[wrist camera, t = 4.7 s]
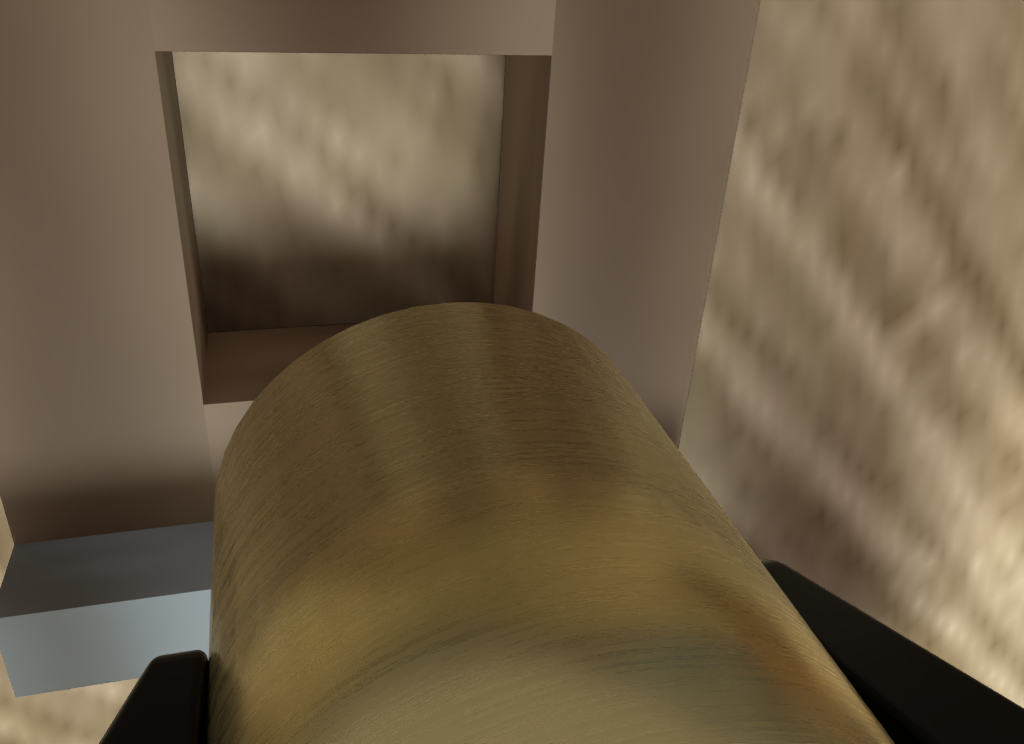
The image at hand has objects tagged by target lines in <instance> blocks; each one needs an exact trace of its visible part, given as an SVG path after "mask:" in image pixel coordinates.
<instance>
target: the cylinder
mask: <svg viewBox="0 0 1024 744" xmlns="http://www.w3.org/2000/svg"><path fill="white" fill-rule="evenodd" d="M206 744H895V743H894V741H893V740H892V739H891V737H890V736H889V735H888V733H887V732H886V731H885V729H884V728H883V727H882V725H881V724H880V722H879V721H878V720H877V718H876V717H875V716H874V714H873V713H872V712H871V710H870V709H869V708H868V706H867V705H866V703H865V702H864V701H863V699H862V698H861V697H860V695H859V694H858V693H857V691H856V690H855V689H854V687H853V686H852V684H851V683H850V682H849V680H848V679H847V678H846V676H845V675H844V674H843V672H842V671H841V670H840V668H839V667H838V665H837V664H836V663H835V661H834V660H833V659H832V657H831V656H830V655H829V653H828V652H827V651H826V649H825V648H824V646H823V645H822V644H821V642H820V641H819V640H818V638H817V637H816V636H815V634H814V633H813V632H812V630H811V629H810V627H809V626H808V625H807V623H806V622H805V621H804V619H803V618H802V617H801V615H800V614H799V613H798V611H797V610H796V608H795V607H794V606H793V604H792V603H791V602H790V600H789V599H788V598H787V596H786V595H785V594H784V592H783V591H782V590H781V588H780V587H779V585H778V584H777V583H776V581H775V580H774V579H773V577H772V576H771V575H770V573H769V572H768V571H767V569H766V568H765V566H764V565H763V564H762V562H761V561H760V560H759V558H758V557H757V556H756V554H755V553H754V552H753V550H752V549H751V547H750V546H749V545H748V543H747V542H746V541H745V539H744V538H743V537H742V535H741V534H740V533H739V531H738V530H737V528H736V527H735V526H734V524H733V523H732V522H731V520H730V519H729V518H728V516H727V515H726V514H725V512H724V511H723V509H722V508H721V507H720V505H719V504H718V503H717V501H716V500H715V499H714V497H713V496H712V495H711V493H710V492H709V490H708V489H707V488H706V486H705V485H704V484H703V482H702V481H701V480H700V478H699V477H698V476H697V474H696V473H695V471H694V470H693V469H692V467H691V466H690V465H689V463H688V462H687V461H686V459H685V458H684V457H683V455H682V454H681V452H680V451H679V450H678V448H677V447H676V446H675V444H674V443H673V442H672V440H671V439H670V438H669V436H668V435H667V433H666V432H665V431H664V429H663V428H662V427H661V425H660V424H659V423H658V421H657V420H656V419H655V417H654V416H653V414H652V413H651V412H650V410H649V409H648V408H647V406H646V405H645V404H644V402H643V401H642V400H641V398H640V397H639V395H638V394H637V393H636V391H635V390H634V389H633V387H632V386H631V385H630V383H629V382H628V381H627V379H626V378H625V377H624V375H623V374H622V372H621V371H620V370H619V369H618V368H617V366H616V365H615V364H614V363H613V362H612V361H611V360H610V359H609V357H608V356H607V355H606V354H605V353H604V352H603V351H602V350H601V349H599V348H598V347H597V346H596V345H594V344H593V343H592V342H591V341H590V340H588V339H587V338H586V337H585V336H583V335H581V334H579V333H578V332H576V331H574V330H573V329H571V328H569V327H568V326H566V325H564V324H562V323H560V322H558V321H555V320H553V319H550V318H548V317H545V316H543V315H540V314H538V313H535V312H531V311H527V310H523V309H519V308H515V307H511V306H505V305H497V304H489V303H480V302H447V303H439V304H431V305H423V306H415V307H411V308H407V309H403V310H399V311H395V312H391V313H387V314H383V315H380V316H378V317H375V318H372V319H370V320H367V321H364V322H362V323H359V324H356V325H354V326H351V327H349V328H347V329H346V330H344V331H342V332H340V333H338V334H336V335H334V336H332V337H330V338H328V339H326V340H324V341H322V342H321V343H319V344H318V345H317V346H315V347H314V348H312V349H311V350H309V351H308V352H306V353H305V354H303V355H302V356H300V357H299V358H297V359H296V360H295V361H294V362H292V363H291V364H290V365H289V366H288V367H287V368H286V369H284V370H283V371H282V372H281V373H280V374H279V375H278V376H276V377H275V378H274V379H273V380H272V381H271V382H270V383H269V384H268V386H267V387H266V388H265V389H264V390H263V391H262V392H261V394H260V395H259V396H258V397H257V398H256V399H255V400H254V402H253V403H252V404H251V406H250V407H249V409H248V410H247V412H246V413H245V415H244V416H243V418H242V419H241V421H240V422H239V424H238V425H237V427H236V429H235V431H234V433H233V435H232V437H231V439H230V441H229V444H228V446H227V448H226V450H225V452H224V455H223V459H222V462H221V466H220V469H219V473H218V476H217V482H216V491H215V499H214V519H213V547H212V575H211V603H210V630H209V658H208V689H207V717H206Z"/></svg>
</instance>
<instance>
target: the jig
mask: <svg viewBox="0 0 1024 744" xmlns="http://www.w3.org/2000/svg"><path fill="white" fill-rule="evenodd" d="M759 5H760V0H0V496H1V500H2V503H3V507H4V510H5V514H6V517H7V520H8V524H9V527H10V531H11V534H12V538H13V541H14V548H13V551H12V554H11V557H10V560H9V563H8V566H7V570H6V573H5V576H4V579H3V582H2V585H1V588H0V650H1V654H2V657H3V660H4V663H5V666H6V669H7V672H8V675H9V678H10V681H11V684H12V687H13V690H14V693H15V696H16V697H21V696H27V695H33V694H40V693H46V692H52V691H59V690H65V689H71V688H78V687H84V686H90V685H97V684H103V683H109V682H116V681H122V680H128V679H135V678H140V677H141V675H142V674H143V672H144V670H145V669H146V667H147V666H148V664H149V663H150V662H151V661H152V660H153V659H154V658H156V657H157V656H160V655H166V654H173V653H179V652H186V651H192V650H201V651H203V652H205V654H206V655H207V657H208V658H209V630H210V603H211V575H212V547H213V519H214V499H215V491H216V482H217V476H218V473H219V469H220V466H221V462H222V459H223V455H224V452H225V450H226V448H227V446H228V444H229V441H230V439H231V437H232V435H233V433H234V431H235V429H236V427H237V425H238V424H239V422H240V421H241V419H242V418H243V416H244V415H245V413H246V412H247V410H248V409H249V407H250V406H251V404H252V403H253V402H254V400H255V399H256V398H257V397H258V396H259V395H260V394H261V392H262V391H263V390H264V389H265V388H266V387H267V386H268V384H269V383H270V382H271V381H272V380H273V379H274V378H275V377H276V376H278V375H279V374H280V373H281V372H282V371H283V370H284V369H286V368H287V367H288V366H289V365H290V364H291V363H292V362H294V361H295V360H296V359H297V358H299V357H300V356H302V355H303V354H305V353H306V352H308V351H309V350H311V349H312V348H314V347H315V346H317V345H318V344H319V343H321V342H322V341H324V340H326V339H328V338H330V337H332V336H334V335H336V334H338V333H340V332H342V331H344V330H346V329H347V328H349V327H351V326H354V325H356V324H359V323H351V324H335V325H320V326H305V327H290V328H275V329H260V330H245V331H230V332H215V333H208V329H207V321H206V313H205V305H204V298H203V290H202V282H201V274H200V267H199V259H198V251H197V243H196V235H195V228H194V220H193V212H192V204H191V197H190V189H189V181H188V173H187V166H186V158H185V150H184V142H183V134H182V127H181V119H180V111H179V103H178V96H177V88H176V80H175V72H174V65H173V57H172V51H190V52H281V53H373V54H465V55H506V65H505V84H504V104H503V123H502V143H501V162H500V182H499V201H498V221H497V240H496V260H495V279H494V299H493V304H497V305H505V306H511V307H515V308H519V309H523V310H527V311H531V312H535V313H538V314H540V315H543V316H545V317H548V318H550V319H553V320H555V321H558V322H560V323H562V324H564V325H566V326H568V327H569V328H571V329H573V330H574V331H576V332H578V333H579V334H581V335H583V336H585V337H586V338H587V339H588V340H590V341H591V342H592V343H593V344H594V345H596V346H597V347H598V348H599V349H601V350H602V351H603V352H604V353H605V354H606V355H607V356H608V357H609V359H610V360H611V361H612V362H613V363H614V364H615V365H616V366H617V368H618V369H619V370H620V371H621V372H622V374H623V375H624V377H625V378H626V379H627V381H628V382H629V383H630V385H631V386H632V387H633V389H634V390H635V391H636V393H637V394H638V395H639V397H640V398H641V400H642V401H643V402H644V404H645V405H646V406H647V408H648V409H649V410H650V412H651V413H652V414H653V416H654V417H655V419H656V420H657V421H658V423H659V424H660V425H661V427H662V428H663V429H664V431H665V432H666V433H667V435H668V436H669V438H670V439H671V440H672V442H673V443H674V444H675V446H676V447H677V448H678V447H679V442H680V436H681V431H682V425H683V420H684V415H685V409H686V404H687V398H688V393H689V387H690V382H691V376H692V371H693V365H694V360H695V354H696V349H697V344H698V338H699V333H700V327H701V322H702V316H703V311H704V305H705V300H706V294H707V289H708V284H709V278H710V273H711V267H712V262H713V256H714V251H715V245H716V240H717V234H718V229H719V224H720V218H721V213H722V207H723V202H724V196H725V191H726V185H727V180H728V174H729V169H730V163H731V158H732V153H733V147H734V142H735V136H736V131H737V125H738V120H739V114H740V109H741V103H742V98H743V93H744V87H745V82H746V76H747V71H748V65H749V60H750V54H751V49H752V43H753V38H754V33H755V27H756V22H757V16H758V11H759Z"/></svg>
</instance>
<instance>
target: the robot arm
mask: <svg viewBox="0 0 1024 744" xmlns="http://www.w3.org/2000/svg"><path fill="white" fill-rule="evenodd" d="M761 562H762V564H763V565H764V566H765V568H766V569H767V571H768V572H769V573H770V575H771V576H772V577H773V579H774V580H775V581H776V583H777V584H778V585H779V587H780V588H781V590H782V591H783V592H784V594H785V595H786V596H787V598H788V599H789V600H790V602H791V603H792V604H793V606H794V607H795V608H796V610H797V611H798V613H799V614H800V615H801V617H802V618H803V619H804V621H805V622H806V623H807V625H808V626H809V627H810V629H811V630H812V632H813V633H814V634H815V636H816V637H817V638H818V640H819V641H820V642H821V644H822V645H823V646H824V648H825V649H826V651H827V652H828V653H829V655H830V656H831V657H832V659H833V660H834V661H835V663H836V664H837V665H838V667H839V668H840V670H841V671H842V672H843V674H844V675H845V676H846V678H847V679H848V680H849V682H850V683H851V684H852V686H853V687H854V689H855V690H856V691H857V693H858V694H859V695H860V697H861V698H862V699H863V701H864V702H865V703H866V705H867V706H868V708H869V709H870V710H871V712H872V713H873V714H874V716H875V717H876V718H877V720H878V721H879V722H880V724H881V725H882V727H883V728H884V729H885V731H886V732H887V733H888V735H889V736H890V737H891V739H892V740H893V741H894V743H895V744H1024V708H1022V707H1021V706H1019V705H1017V704H1016V703H1014V702H1012V701H1011V700H1009V699H1007V698H1006V697H1004V696H1002V695H1001V694H999V693H997V692H996V691H994V690H992V689H991V688H989V687H987V686H986V685H984V684H982V683H981V682H979V681H977V680H976V679H974V678H972V677H971V676H969V675H967V674H966V673H964V672H962V671H961V670H959V669H957V668H956V667H954V666H952V665H951V664H949V663H948V662H946V661H944V660H943V659H941V658H939V657H938V656H936V655H934V654H933V653H931V652H929V651H928V650H926V649H924V648H923V647H921V646H919V645H918V644H916V643H914V642H913V641H911V640H909V639H908V638H906V637H904V636H903V635H901V634H899V633H898V632H896V631H894V630H893V629H891V628H889V627H888V626H886V625H884V624H883V623H881V622H879V621H878V620H876V619H874V618H873V617H871V616H869V615H868V614H866V613H864V612H863V611H861V610H859V609H858V608H856V607H855V606H853V605H851V604H850V603H848V602H846V601H845V600H843V599H841V598H840V597H838V596H836V595H835V594H833V593H831V592H830V591H828V590H826V589H825V588H823V587H821V586H820V585H818V584H816V583H815V582H813V581H811V580H810V579H808V578H806V577H805V576H803V575H801V574H800V573H798V572H796V571H795V570H793V569H791V568H790V567H788V566H786V565H785V564H783V563H781V562H778V561H774V560H768V561H761ZM207 689H208V657H207V655H206V654H205V652H203V651H201V650H192V651H186V652H179V653H173V654H166V655H160V656H157V657H156V658H154V659H153V660H152V661H151V662H150V663H149V664H148V666H147V667H146V669H145V670H144V672H143V674H142V675H141V677H140V679H139V680H138V682H137V683H136V685H135V687H134V688H133V690H132V691H131V693H130V695H129V696H128V698H127V699H126V701H125V703H124V704H123V706H122V707H121V709H120V711H119V712H118V714H117V715H116V717H115V719H114V720H113V722H112V724H111V725H110V727H109V728H108V730H107V732H106V733H105V735H104V736H103V738H102V740H101V741H100V743H99V744H206V717H207Z"/></svg>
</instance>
